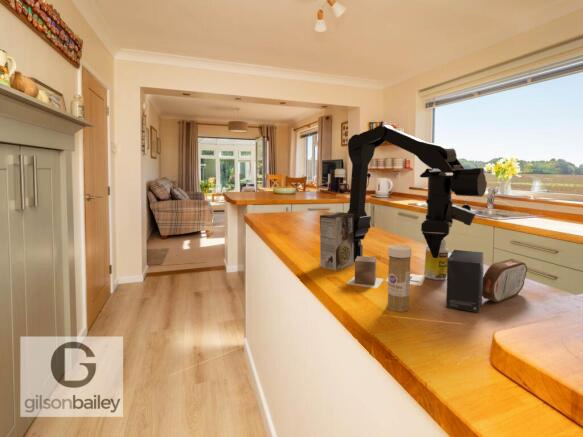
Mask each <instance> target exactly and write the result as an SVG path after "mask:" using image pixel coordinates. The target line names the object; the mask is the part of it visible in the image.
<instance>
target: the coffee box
mask: <svg viewBox="0 0 583 437" xmlns="http://www.w3.org/2000/svg"><path fill="white" fill-rule="evenodd" d="M319 235H320V236H319V240H320V241H319V246H320V247H319V251H320V253H319V254H320V255H319V256H320V259H319V260H320V268H324V269H327V270H331V271H334V272H335V271H336V272H337V271H340V270H343V269H346V268H348V267H351V266H353V265H355V261H354V214H349V213H347V212H341V211H337V212H331V213H325V214H319Z"/></svg>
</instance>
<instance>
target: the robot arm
mask: <svg viewBox="0 0 583 437" xmlns="http://www.w3.org/2000/svg"><path fill="white" fill-rule="evenodd" d="M385 142H387V143H389V144H391V145H393V146H396V147H398V148H400V149H402V150H404V151H405V152H408V153H410V154H413V155H414V156H416V157H417V159H419V161H420V162H422V163H423V164H425V165H426V166H427V167H428V168H426V169H425V170H424V172H422V173H421V174H420V175H419V178H427V199H426V201H425V204H427V205H426V214H425V220H424V221H423V222H422V223H421V227H420V231H421V233H422V235H423V237H424V239H425V242H426V243H427V247H429V249H430V252H431V254H432V256H433V258H438V254H439V250H440V246H441V242H442V240H445V238H446V237H447V236H449V234H450V231H451V230H450V229H451V228H452V226H453V223H454V220H455V221H458V222H460V223H463V224H464V225H466V226H469V227H470V226H471V225H472V223H473V221H474V219H475V217H476V215H477V213H476V211H473V210H472V209H471V205H470V204H467V203H464V204H463V205H461V206H460V205H455V204H454V199H452V194H454V195H455V196H457V197H476V198H477V197H478V198H479V197H481V198H482V197H483V196H484V195H485V194H486V191H487V186H488V182H487V180H486V175H485V173H484V170H485V169H484V168H483V167H475V168H464V165H462V163H461V162H460V161H459V159H458V158H457V152H456V150H455V149H454V148H453V147H452V146H448V145H444V144H439V143H434V142H428V141H424V140H422V139H420V138H417V137H415V136H413V135H411V134H409V133H405V132H403V131H402V130H399V129H397V128H394V127H393V126H392V125H387V124H379V125H378V126H375V127H374V128H371V129H369V130H366V131H363V132H361V133H359V134H353V135H352V136H351V137H350V138H349V139H348V140H347V152H348V157H349V159H350V163H351V165H352V166H351V176H350V177H351V179H350V195H349V205H348V207H349V208H348V211H347V212H346V213H349V214H354V262H355V260H356V258H357V256H363V248H364V246H363V244H362V240H365V237H366V235H367V233H368V232H369V230H370V229H371V228H372V227H371V220H372V217H371V215H368V214H367V212H366V198H367V187H368V174H369V166H370V163H371V161H372V159H373V157H374V155H375V151H376V148H378V147H380V146H382V145H383V144H384V143H385ZM433 169H435V170H433ZM436 169H437V170H436ZM447 173H452V174H447ZM363 257H364V256H363Z"/></svg>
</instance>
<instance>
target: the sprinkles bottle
mask: <svg viewBox="0 0 583 437" xmlns="http://www.w3.org/2000/svg"><path fill="white" fill-rule="evenodd" d="M387 248H388V249H387V252H388V254H387V255H388V272H387V273H388V277H387V278H388V281H387V304H386V307H387V309H388V310H390V311H393V312H396V313H397V312H399V313H403V312H407V311H409V309H410V290H411V289H410V286H411V284H410V274H411V258H412V247H411V246H409V245H406V244H398V243H397V244H391V245H389V246H388V247H387Z"/></svg>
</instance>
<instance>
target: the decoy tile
mask: <svg viewBox="0 0 583 437" xmlns="http://www.w3.org/2000/svg"><path fill="white" fill-rule="evenodd" d="M383 281H385V278H380V277H376V281H375V285H366V284H355V275H354V276H353V277H351V278H350V280H348V281H347V283H345V284H346V285H351V286H358V287H363V288H364V287H365V288H372V289H378V288H379V286H380V285H381V284H382V283H383Z"/></svg>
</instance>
